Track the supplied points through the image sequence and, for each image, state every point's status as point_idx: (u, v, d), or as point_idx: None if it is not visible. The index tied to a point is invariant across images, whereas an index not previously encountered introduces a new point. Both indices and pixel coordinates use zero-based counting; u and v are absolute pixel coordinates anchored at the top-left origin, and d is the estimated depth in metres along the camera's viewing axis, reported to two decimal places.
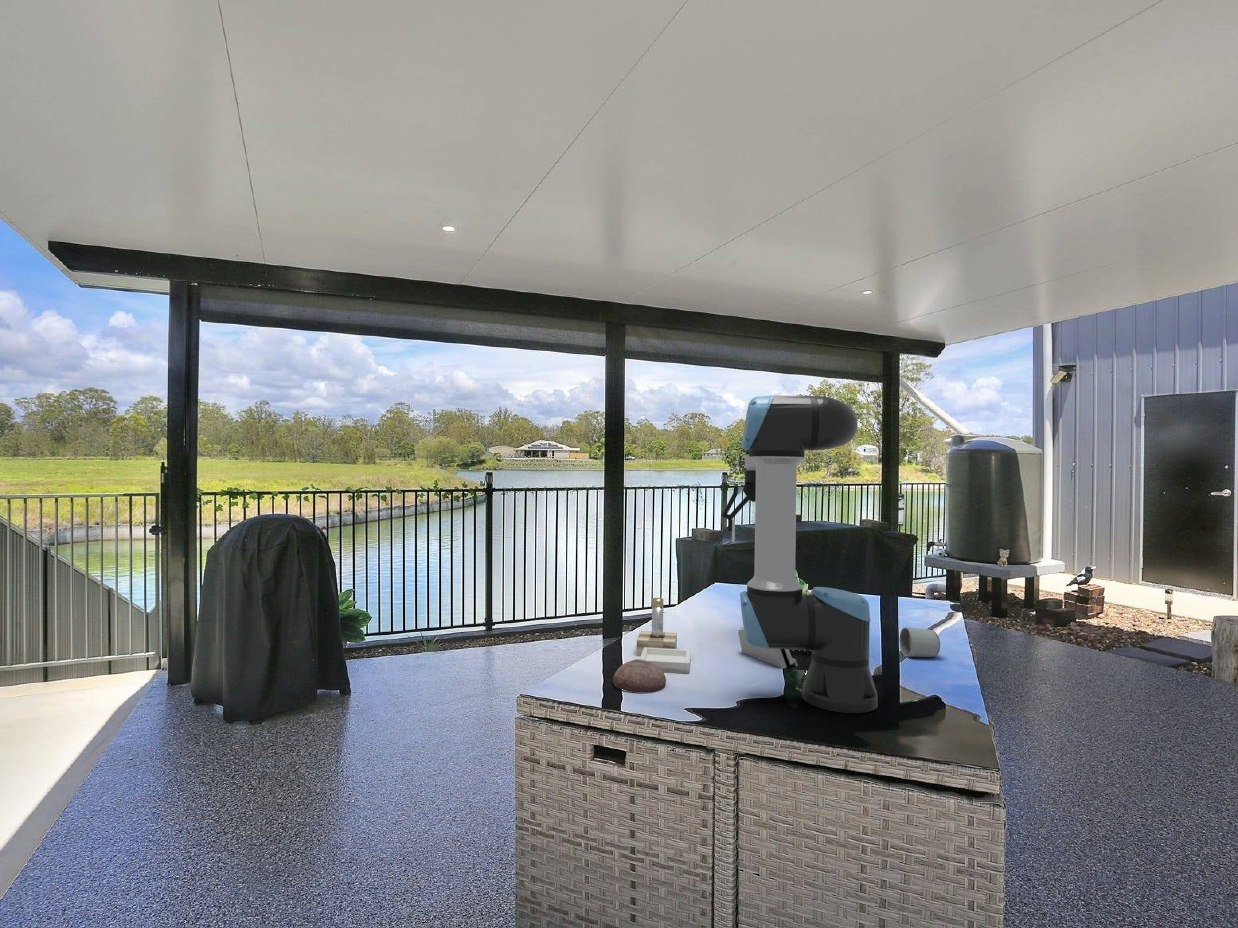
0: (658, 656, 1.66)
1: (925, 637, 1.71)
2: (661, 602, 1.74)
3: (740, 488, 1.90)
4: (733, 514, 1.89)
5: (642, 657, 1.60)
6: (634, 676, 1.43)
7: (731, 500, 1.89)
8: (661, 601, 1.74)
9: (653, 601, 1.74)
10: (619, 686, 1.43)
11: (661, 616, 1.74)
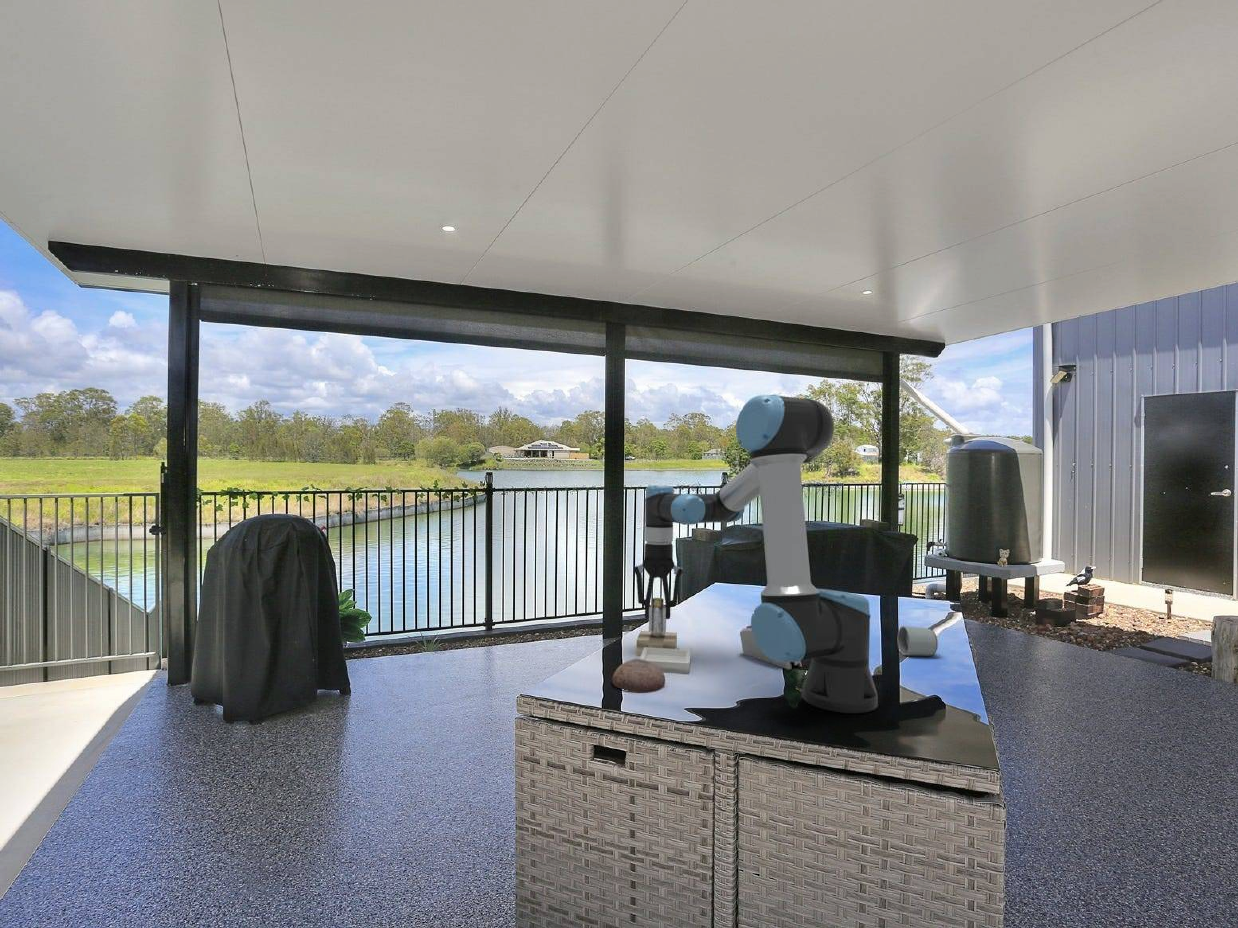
0: (658, 656, 1.66)
1: (923, 636, 1.73)
2: (661, 602, 1.74)
3: (640, 567, 1.75)
4: (648, 599, 1.74)
5: (642, 657, 1.60)
6: (634, 675, 1.43)
7: (638, 583, 1.75)
8: (661, 601, 1.74)
9: (653, 601, 1.74)
10: (618, 685, 1.44)
11: (661, 616, 1.74)
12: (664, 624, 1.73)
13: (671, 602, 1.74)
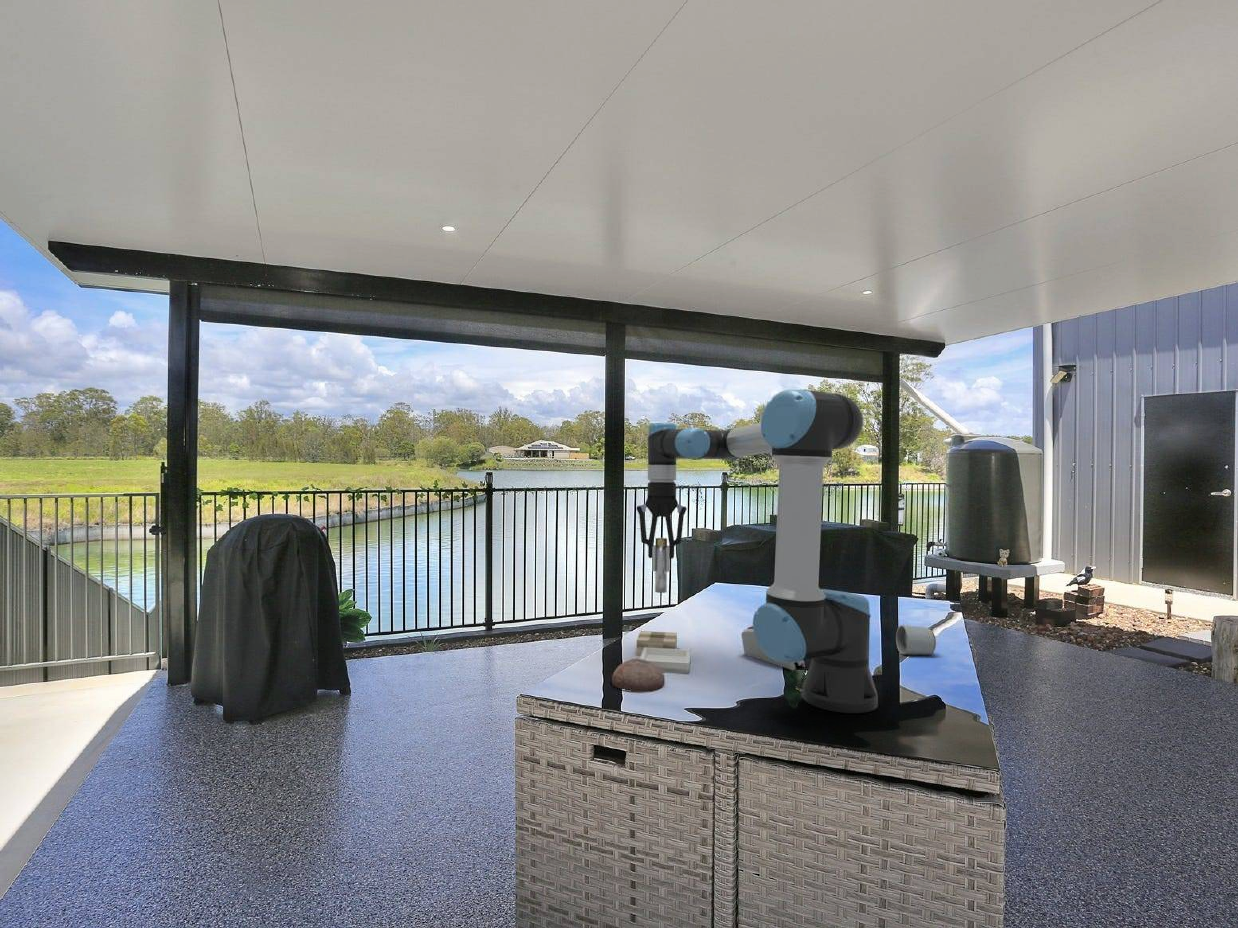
0: (658, 656, 1.66)
1: (921, 635, 1.74)
2: (665, 541, 1.71)
3: (643, 506, 1.73)
4: (651, 538, 1.71)
5: (642, 657, 1.60)
6: (633, 675, 1.43)
7: (641, 522, 1.72)
8: (665, 540, 1.71)
9: (656, 540, 1.72)
10: (618, 685, 1.44)
11: (665, 555, 1.71)
12: (668, 563, 1.71)
13: (675, 541, 1.71)
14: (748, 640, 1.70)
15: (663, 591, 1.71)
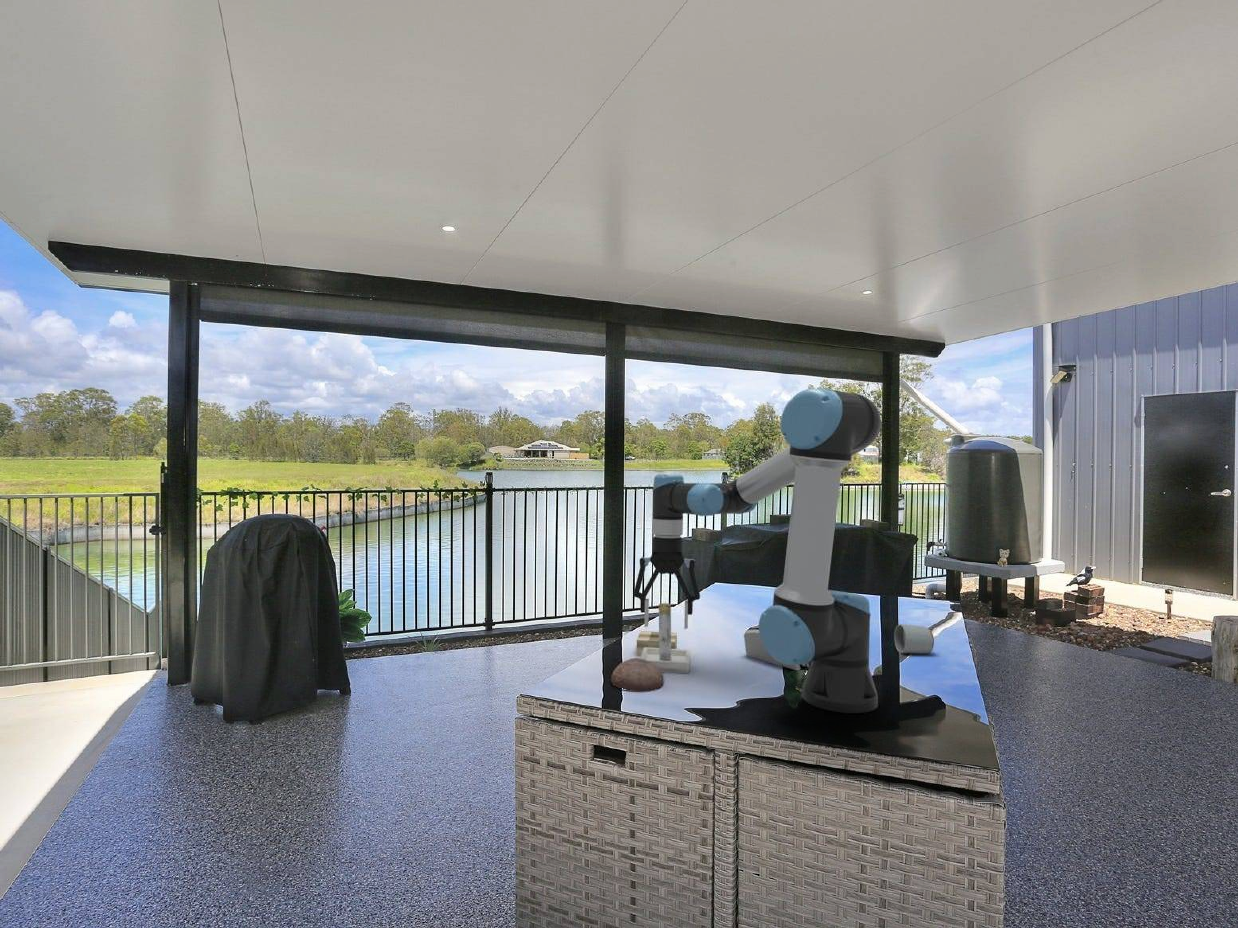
0: (658, 656, 1.66)
1: (919, 634, 1.75)
2: (668, 608, 1.61)
3: (647, 559, 1.63)
4: (645, 593, 1.62)
5: (642, 657, 1.60)
6: (632, 675, 1.44)
7: (639, 576, 1.63)
8: (668, 607, 1.61)
9: (660, 607, 1.61)
10: (617, 685, 1.44)
11: (669, 623, 1.61)
12: (686, 620, 1.61)
13: (693, 596, 1.61)
14: (751, 641, 1.70)
15: None
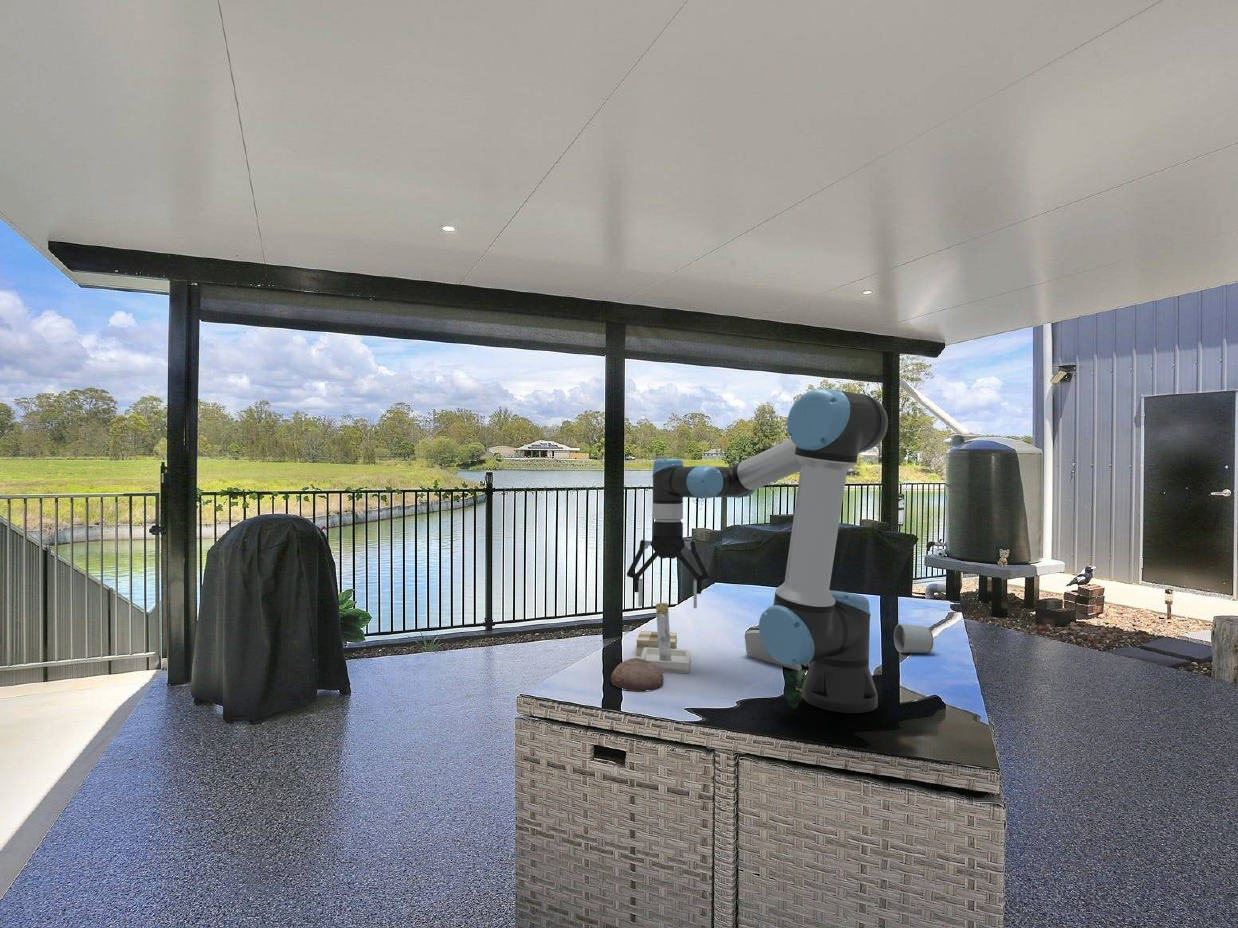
0: (658, 656, 1.66)
1: (919, 634, 1.75)
2: (666, 608, 1.61)
3: (647, 542, 1.63)
4: (639, 573, 1.62)
5: (642, 657, 1.60)
6: (632, 674, 1.44)
7: (637, 557, 1.63)
8: (665, 606, 1.61)
9: (657, 607, 1.62)
10: (617, 685, 1.44)
11: (667, 623, 1.61)
12: (695, 599, 1.60)
13: (702, 575, 1.61)
14: (751, 641, 1.69)
15: (668, 660, 1.61)
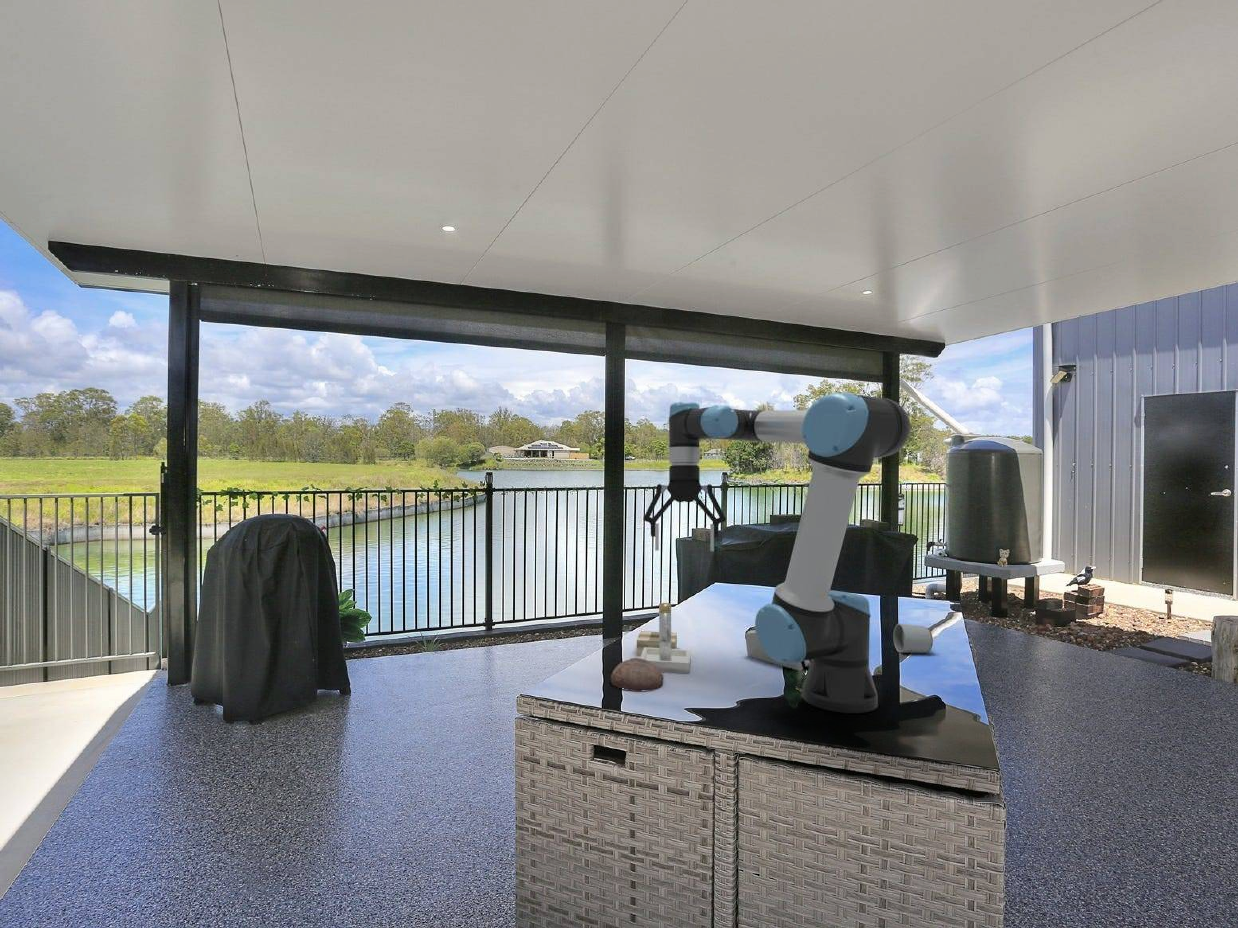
0: (658, 656, 1.66)
1: (918, 634, 1.75)
2: (669, 607, 1.62)
3: (664, 487, 1.63)
4: (656, 517, 1.62)
5: (642, 657, 1.60)
6: (632, 674, 1.44)
7: (653, 501, 1.62)
8: (669, 606, 1.62)
9: (660, 606, 1.62)
10: (617, 684, 1.44)
11: (669, 622, 1.62)
12: (712, 542, 1.60)
13: (719, 519, 1.61)
14: (752, 641, 1.69)
15: (668, 660, 1.61)
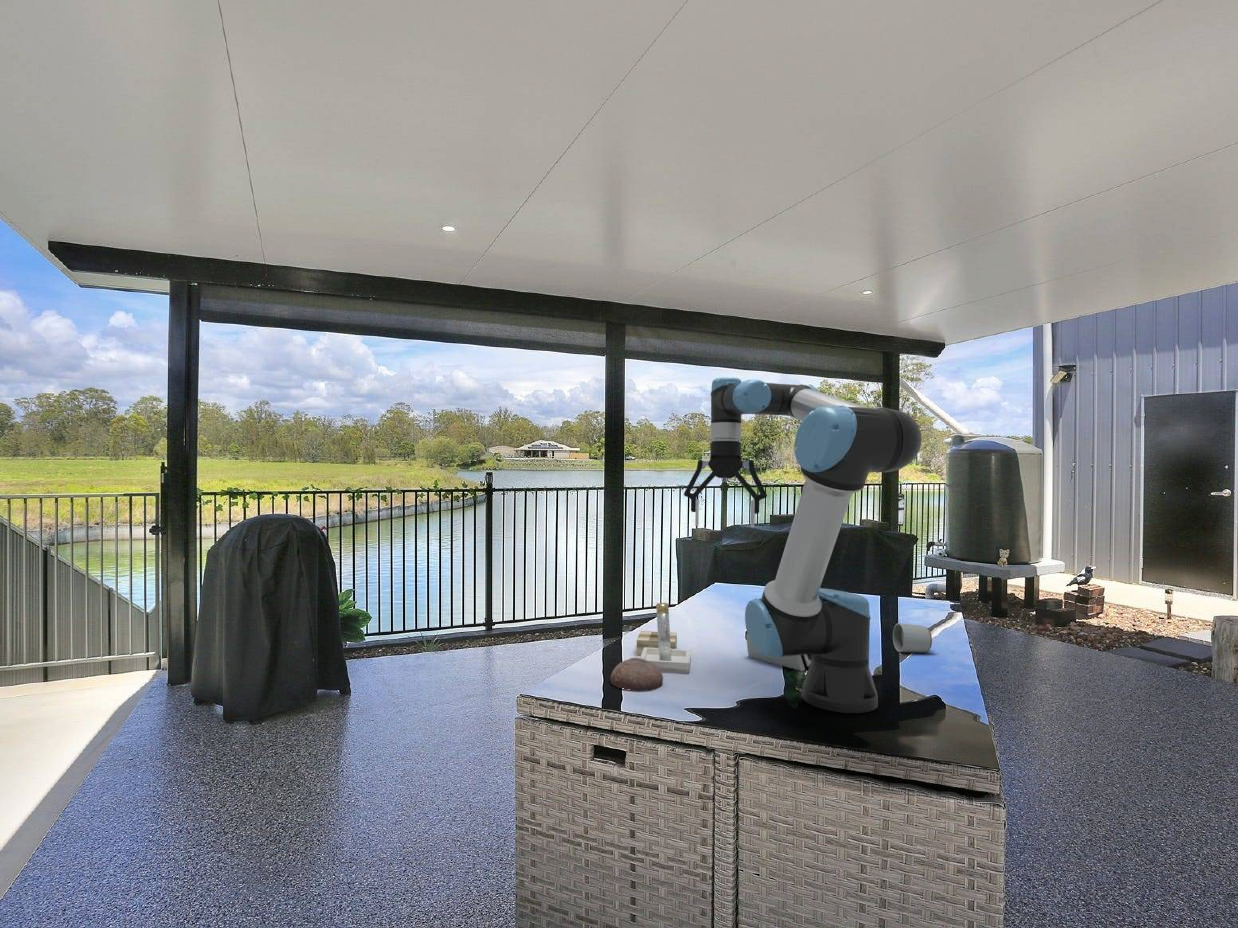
0: (658, 656, 1.66)
1: (917, 633, 1.76)
2: (666, 607, 1.62)
3: (705, 462, 1.63)
4: (697, 493, 1.62)
5: (642, 657, 1.60)
6: (631, 674, 1.44)
7: (694, 476, 1.62)
8: (666, 606, 1.62)
9: (657, 607, 1.62)
10: (616, 684, 1.45)
11: (667, 622, 1.62)
12: (753, 519, 1.60)
13: (760, 495, 1.60)
14: None
15: (668, 660, 1.61)
